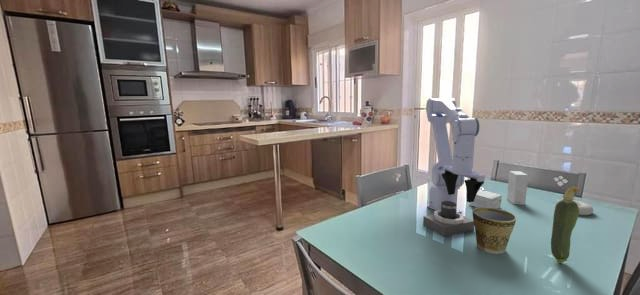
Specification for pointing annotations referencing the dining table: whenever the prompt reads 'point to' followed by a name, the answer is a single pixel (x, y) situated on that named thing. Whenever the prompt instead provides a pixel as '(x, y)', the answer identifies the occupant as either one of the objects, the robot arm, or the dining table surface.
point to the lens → (448, 209)
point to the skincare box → (517, 187)
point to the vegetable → (564, 225)
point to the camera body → (448, 224)
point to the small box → (487, 199)
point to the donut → (583, 208)
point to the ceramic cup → (493, 228)
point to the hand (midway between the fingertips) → (460, 197)
